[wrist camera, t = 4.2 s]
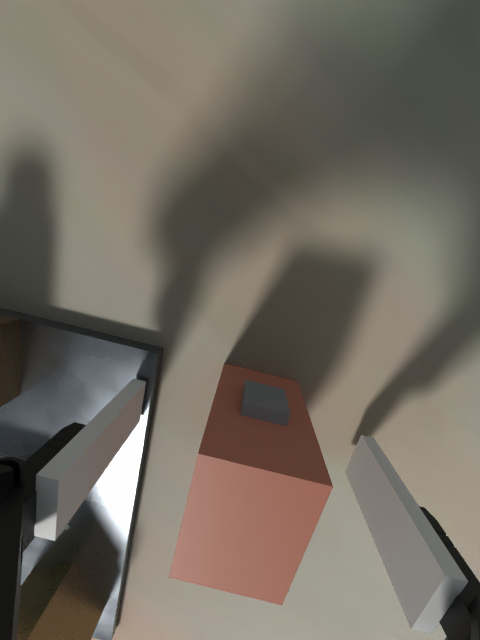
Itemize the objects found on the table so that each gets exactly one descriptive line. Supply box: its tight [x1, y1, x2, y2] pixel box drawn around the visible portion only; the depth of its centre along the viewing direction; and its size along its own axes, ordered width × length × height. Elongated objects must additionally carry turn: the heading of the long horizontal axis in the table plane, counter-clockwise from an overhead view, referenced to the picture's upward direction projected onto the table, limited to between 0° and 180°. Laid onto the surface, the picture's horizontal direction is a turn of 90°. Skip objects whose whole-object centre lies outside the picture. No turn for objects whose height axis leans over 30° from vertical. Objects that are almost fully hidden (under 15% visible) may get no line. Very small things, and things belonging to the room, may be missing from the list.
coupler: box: [169, 363, 333, 605], centre depth 12 cm, size 7×4×7 cm, turn 167°
